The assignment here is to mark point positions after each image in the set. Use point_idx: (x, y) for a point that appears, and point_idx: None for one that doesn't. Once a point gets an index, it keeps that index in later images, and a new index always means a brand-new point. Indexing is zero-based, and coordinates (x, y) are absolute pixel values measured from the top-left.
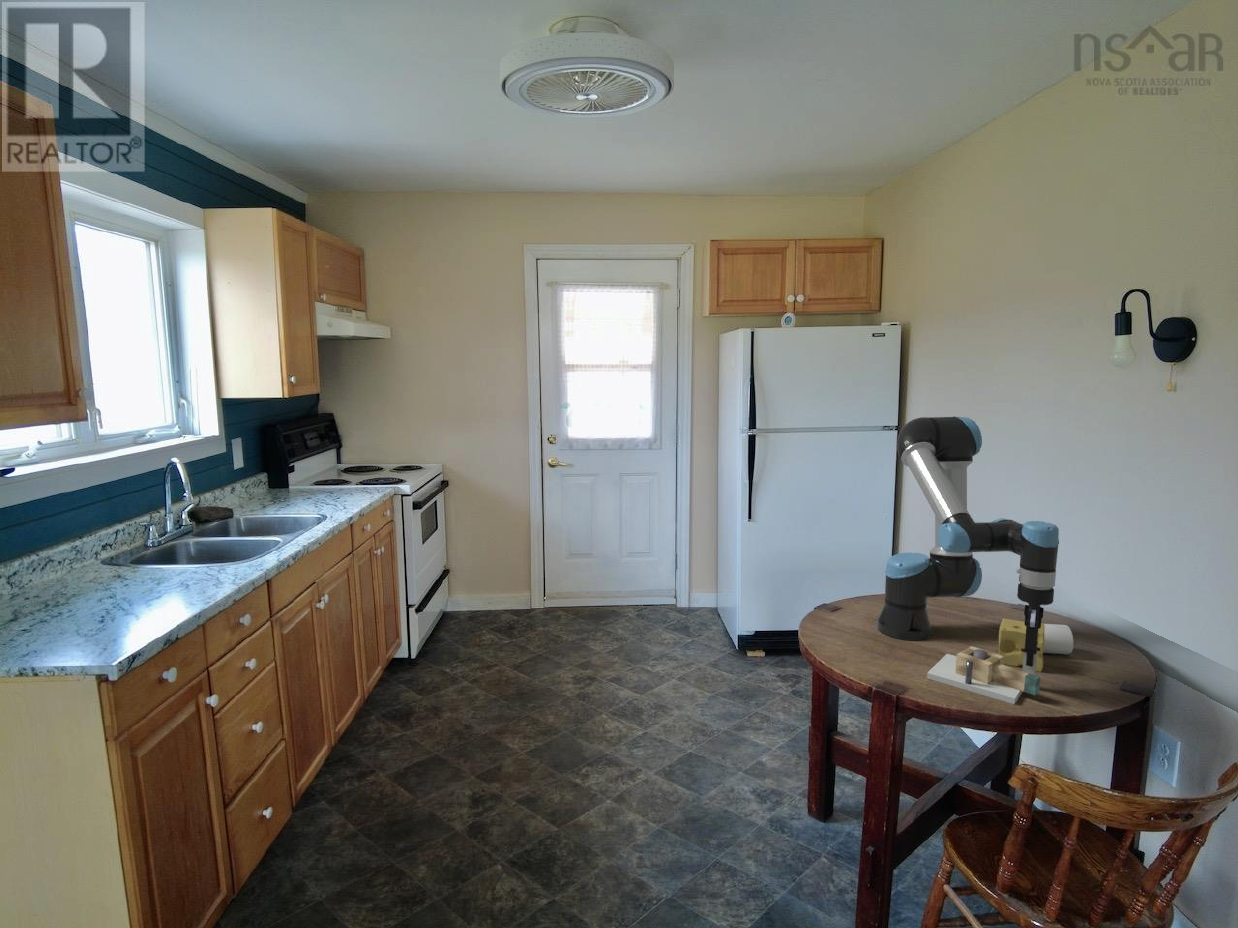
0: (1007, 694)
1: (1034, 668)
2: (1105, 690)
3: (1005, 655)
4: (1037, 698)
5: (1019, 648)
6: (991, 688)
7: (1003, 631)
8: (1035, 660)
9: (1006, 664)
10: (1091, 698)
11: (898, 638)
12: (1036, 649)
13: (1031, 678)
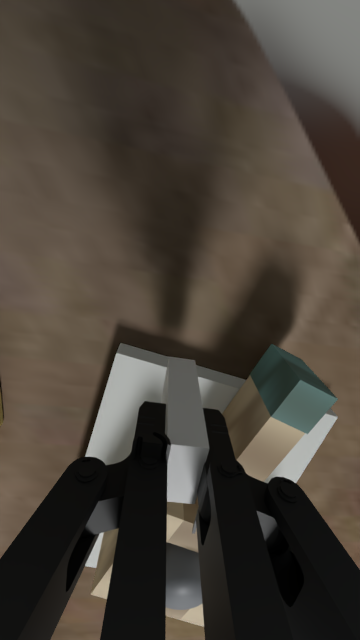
0: (312, 433)
1: (197, 389)
2: (55, 19)
3: None
4: (260, 335)
5: None
6: (279, 469)
7: None
8: (203, 417)
9: (1, 401)
10: (186, 124)
11: None
12: (212, 477)
13: (324, 412)
